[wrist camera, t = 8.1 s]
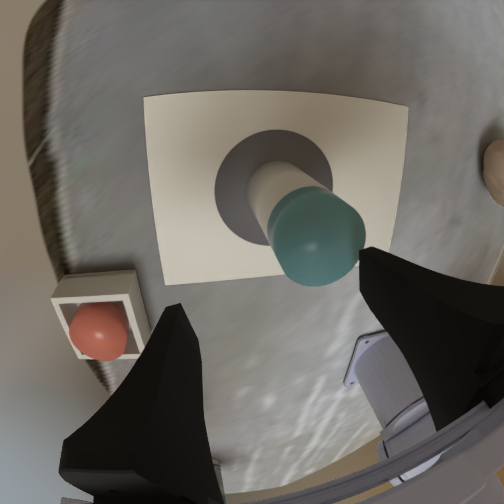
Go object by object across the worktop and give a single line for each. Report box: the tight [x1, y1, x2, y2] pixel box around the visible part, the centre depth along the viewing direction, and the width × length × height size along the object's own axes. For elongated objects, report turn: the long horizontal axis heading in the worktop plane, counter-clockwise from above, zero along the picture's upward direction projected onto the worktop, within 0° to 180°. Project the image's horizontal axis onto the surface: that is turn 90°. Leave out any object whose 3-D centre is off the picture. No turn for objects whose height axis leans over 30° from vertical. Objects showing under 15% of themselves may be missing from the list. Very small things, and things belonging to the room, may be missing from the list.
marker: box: [246, 161, 366, 286], centre depth 16 cm, size 4×4×8 cm
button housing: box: [51, 269, 151, 359], centre depth 20 cm, size 6×6×3 cm
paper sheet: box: [144, 90, 409, 285], centre depth 19 cm, size 18×13×1 cm
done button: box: [69, 301, 129, 361], centre depth 19 cm, size 4×4×2 cm
